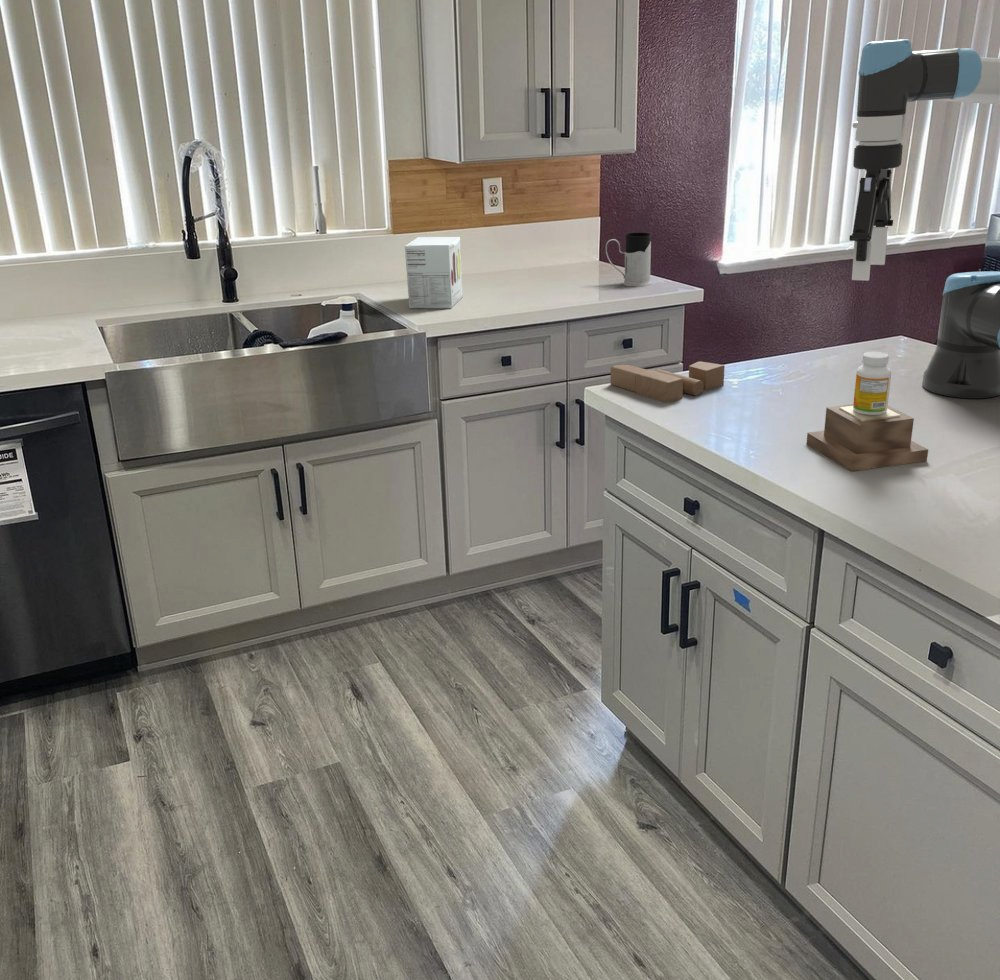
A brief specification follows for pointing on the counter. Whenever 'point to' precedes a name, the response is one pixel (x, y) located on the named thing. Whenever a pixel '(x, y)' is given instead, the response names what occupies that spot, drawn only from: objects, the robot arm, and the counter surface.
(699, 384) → the wooden block set
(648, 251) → the glass holder
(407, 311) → the counter surface
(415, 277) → the supplement box
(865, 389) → the supplement bottle
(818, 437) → the plinth
